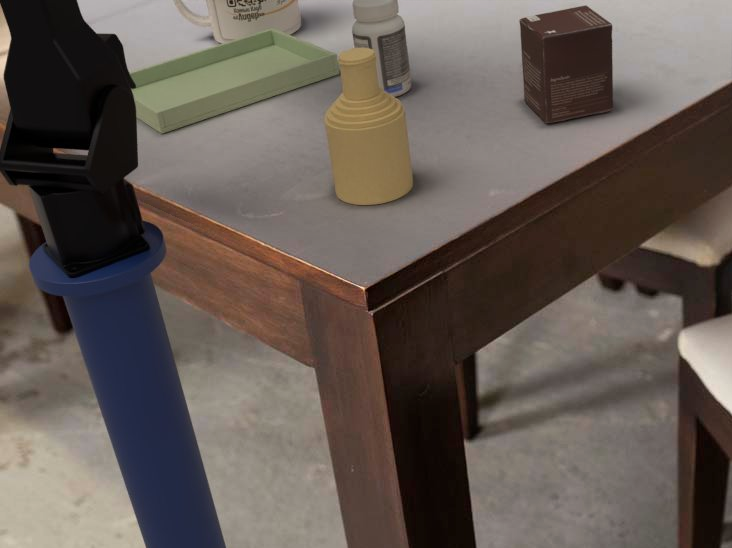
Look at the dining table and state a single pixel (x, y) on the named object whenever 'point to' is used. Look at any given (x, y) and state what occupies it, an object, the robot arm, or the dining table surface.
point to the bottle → (367, 135)
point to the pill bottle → (384, 42)
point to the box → (567, 63)
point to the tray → (227, 78)
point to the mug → (245, 17)
